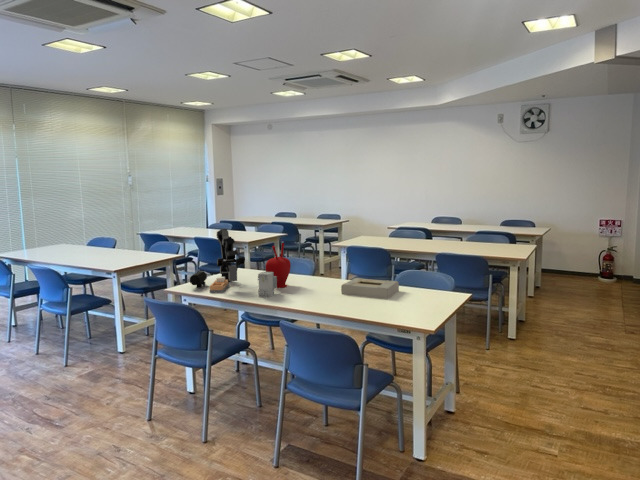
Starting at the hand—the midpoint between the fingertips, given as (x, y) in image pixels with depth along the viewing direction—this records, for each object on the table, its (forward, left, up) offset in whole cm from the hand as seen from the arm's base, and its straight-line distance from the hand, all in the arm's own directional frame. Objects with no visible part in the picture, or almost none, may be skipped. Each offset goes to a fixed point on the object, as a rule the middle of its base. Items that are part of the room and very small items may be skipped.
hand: (232, 271), depth 316 cm
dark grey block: (-1, -1, -7) cm, 7 cm away
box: (-43, +82, -14) cm, 94 cm away
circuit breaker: (-4, +28, -14) cm, 31 cm away
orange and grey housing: (+1, -13, -13) cm, 18 cm away
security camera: (+4, -30, -14) cm, 34 cm away
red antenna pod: (-26, +19, -14) cm, 35 cm away
